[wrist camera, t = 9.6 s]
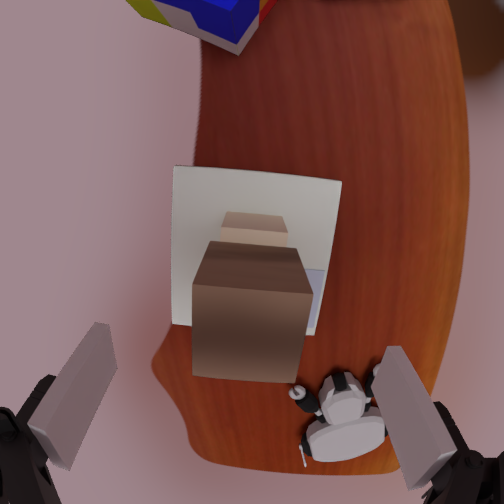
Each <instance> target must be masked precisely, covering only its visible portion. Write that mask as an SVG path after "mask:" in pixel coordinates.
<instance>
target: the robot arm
mask: <svg viewBox="0 0 504 504" xmlns="http://www.w3.org/2000/svg"><path fill="white" fill-rule="evenodd" d="M116 370H117V364H116V359H115V354H114V349H113V343H112V338H111V332H110V326H109V324H102V323H98V322H95V323H94V325H93V326H92V327H91V328H90V330H89V331H88V333H87V334H86V335H85V337H84V338H83V340H82V341H81V342H80V344H79V345H78V347H77V348H76V350H75V351H74V352H73V354H72V355H71V357H70V358H69V360H68V361H67V363H66V364H65V365H64V367H63V368H62V370H61V371H60V373H59V374H58V376H57V377H56V376H53V375H49V374H48V375H47V376H46V377H44V378H43V379H41V380H40V381H39V382H38V384H37V385H36V387H35V388H34V391H32V393H31V394H30V397H28V399H27V400H26V402H25V403H24V404H23V406H22V408H21V409H20V411H19V412H18V414H17V415H16V417H15V415H14V414H13V412H12V411H11V410H10V409H9V408H5V407H0V504H9V503H10V504H62V503H61V501H60V499H59V497H58V494H57V491H56V489H55V486H54V484H53V481H52V479H51V476H50V473H49V470H48V467H47V466H46V461H47V459H48V458H49V459H50V461H51V462H52V463H53V465H55V466H58V467H60V468H63V469H65V470H68V471H70V469H71V466H72V464H73V461H74V459H75V457H76V455H77V453H78V450H79V448H80V446H81V444H82V441H83V439H84V437H85V435H86V433H87V430H88V428H89V426H90V424H91V422H92V420H93V417H94V415H95V413H96V411H97V409H98V407H99V405H100V403H101V401H102V398H103V396H104V394H105V392H106V390H107V388H108V386H109V384H110V382H111V380H112V378H113V376H114V374H115V372H116ZM371 389H372V391H373V394H374V397H375V399H376V402H377V404H378V407H379V409H380V412H381V415H382V417H383V420H384V423H385V425H386V428H387V431H388V433H389V436H390V439H391V442H392V444H393V447H394V450H395V453H396V456H397V458H398V461H399V464H400V467H401V470H402V472H403V476H404V479H405V481H406V485H407V488H408V490H409V491H410V490H414V489H418V488H422V487H424V486H425V485H426V484H427V483H428V482H429V481H430V480H431V481H432V484H433V486H432V487H431V488H430V489H429V490H428V491H427V492H426V493H425V494H424V495H423V496H422V499H423V498H424V497H425V496H427V497H426V499H425V501H424V503H423V504H504V451H503V452H502V453H501V454H500V455H499V456H498V457H497V458H484V457H483V456H482V455H481V454H480V453H479V452H477V451H475V450H469V448H468V446H467V444H466V443H465V441H464V439H463V437H462V435H461V433H460V431H459V429H458V427H457V426H456V425H455V422H454V420H453V419H452V417H451V415H450V413H449V411H448V410H447V408H446V407H445V406H444V405H443V404H442V403H441V402H439V401H438V402H432V400H431V398H430V396H429V394H428V393H427V391H426V389H425V387H424V385H423V384H422V382H421V380H420V378H419V377H418V375H417V373H416V371H415V370H414V368H413V366H412V364H411V363H410V361H409V359H408V358H407V356H406V354H405V352H404V351H403V349H402V347H401V346H387V348H386V351H385V354H384V356H383V359H382V361H381V364H380V366H379V369H378V371H377V374H376V376H375V378H374V381H373V383H372V385H371Z"/></svg>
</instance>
